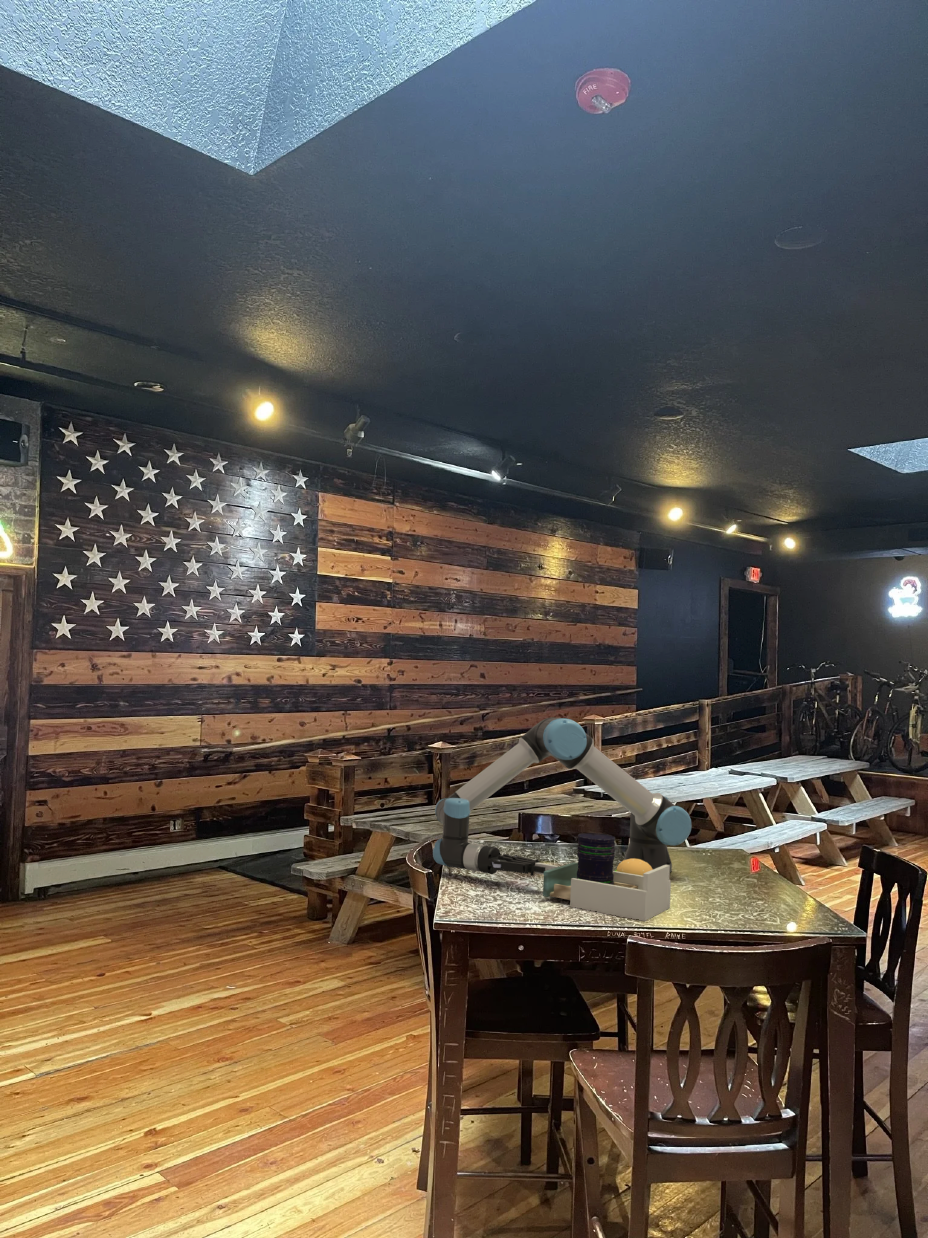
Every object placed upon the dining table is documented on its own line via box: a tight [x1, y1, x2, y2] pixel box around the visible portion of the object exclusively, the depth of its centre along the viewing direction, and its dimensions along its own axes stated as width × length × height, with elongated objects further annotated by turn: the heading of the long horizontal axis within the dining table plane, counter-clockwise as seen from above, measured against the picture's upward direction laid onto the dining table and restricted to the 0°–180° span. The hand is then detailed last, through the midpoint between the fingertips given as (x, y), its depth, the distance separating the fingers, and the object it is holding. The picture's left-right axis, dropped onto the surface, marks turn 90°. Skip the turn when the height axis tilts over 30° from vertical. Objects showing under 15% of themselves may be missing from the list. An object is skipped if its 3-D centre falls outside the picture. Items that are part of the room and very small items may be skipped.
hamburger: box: [614, 859, 653, 876], centre depth 246 cm, size 12×12×9 cm
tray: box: [542, 861, 638, 901], centre depth 229 cm, size 20×18×6 cm
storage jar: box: [576, 832, 616, 885], centre depth 229 cm, size 10×10×15 cm
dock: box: [569, 865, 672, 922], centre depth 225 cm, size 20×18×11 cm
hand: (557, 871), depth 234 cm, fingers closed
